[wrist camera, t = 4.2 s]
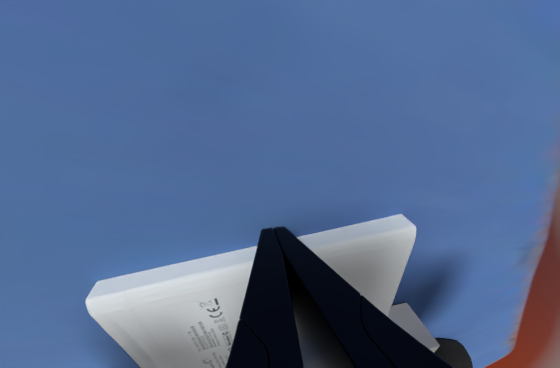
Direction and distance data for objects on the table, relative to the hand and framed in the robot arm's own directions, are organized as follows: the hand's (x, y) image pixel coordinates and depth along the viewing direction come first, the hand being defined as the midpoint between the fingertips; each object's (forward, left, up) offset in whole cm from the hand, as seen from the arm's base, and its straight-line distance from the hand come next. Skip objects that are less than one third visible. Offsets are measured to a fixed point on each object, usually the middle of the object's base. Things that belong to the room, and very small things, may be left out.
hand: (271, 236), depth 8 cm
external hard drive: (-5, -1, -1) cm, 5 cm away
